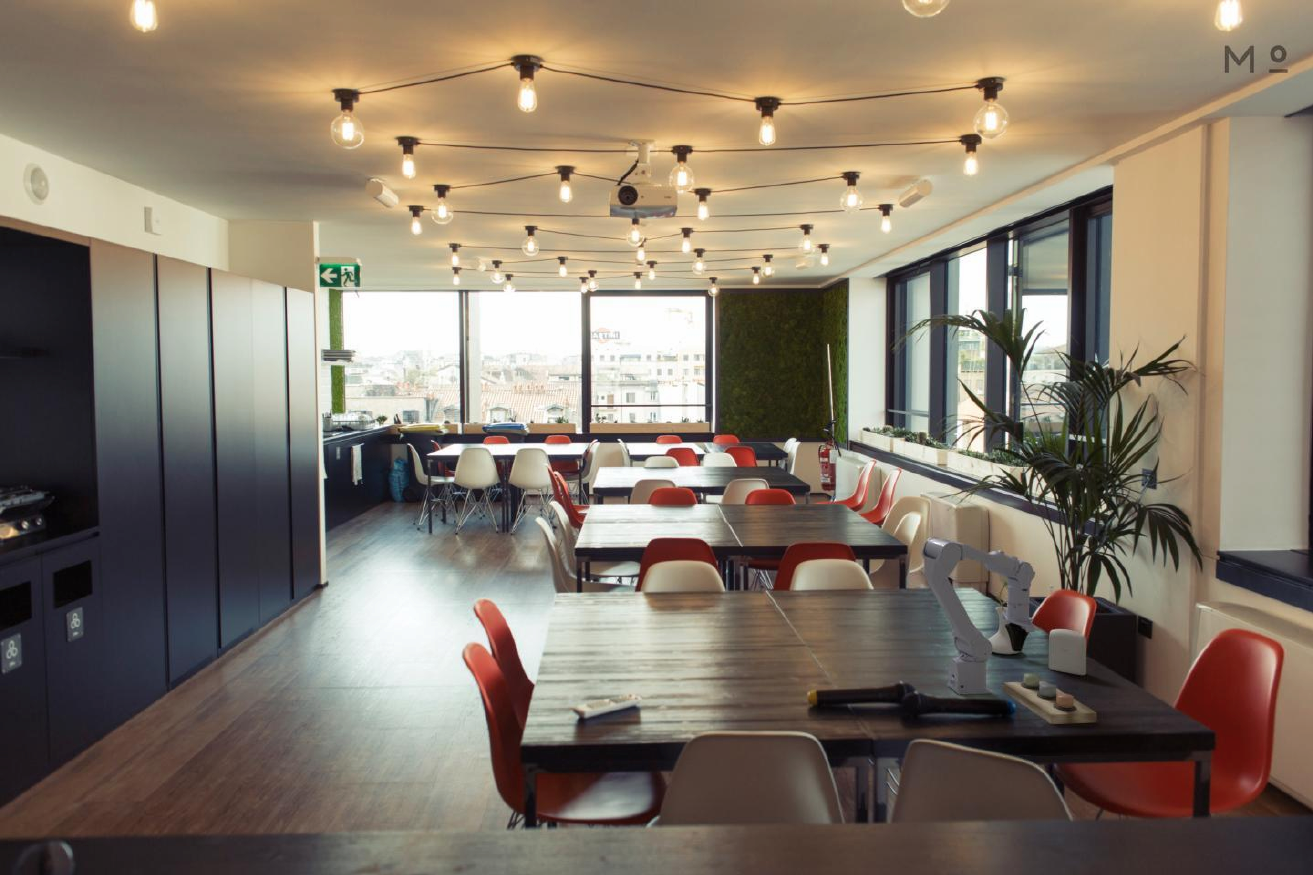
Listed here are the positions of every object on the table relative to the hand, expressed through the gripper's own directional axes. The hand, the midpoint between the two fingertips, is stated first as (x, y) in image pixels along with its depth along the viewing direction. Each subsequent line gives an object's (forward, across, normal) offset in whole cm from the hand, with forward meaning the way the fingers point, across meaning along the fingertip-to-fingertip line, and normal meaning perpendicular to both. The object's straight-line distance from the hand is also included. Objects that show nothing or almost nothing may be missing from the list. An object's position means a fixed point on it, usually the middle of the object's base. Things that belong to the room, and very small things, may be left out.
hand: (1017, 650), depth 248 cm
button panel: (+10, -16, 0) cm, 19 cm away
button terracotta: (+7, -24, 0) cm, 25 cm away
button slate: (+7, -16, 0) cm, 17 cm away
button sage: (+7, -8, 0) cm, 11 cm away
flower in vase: (+10, +31, -11) cm, 35 cm away
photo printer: (+10, +10, -21) cm, 25 cm away
